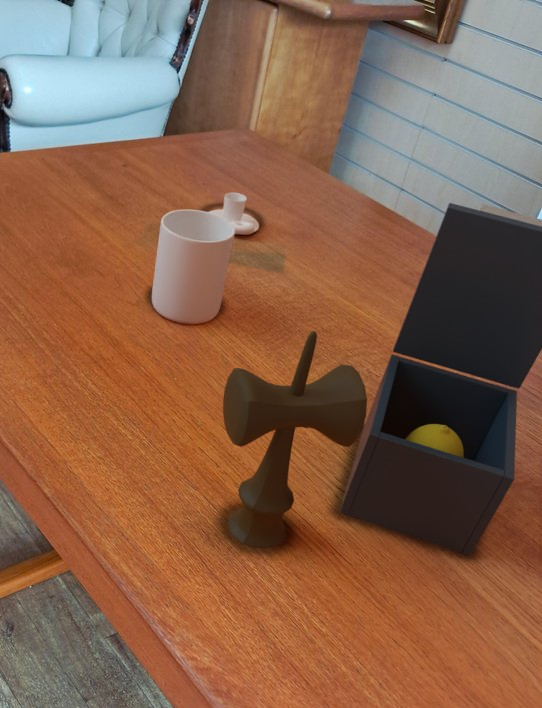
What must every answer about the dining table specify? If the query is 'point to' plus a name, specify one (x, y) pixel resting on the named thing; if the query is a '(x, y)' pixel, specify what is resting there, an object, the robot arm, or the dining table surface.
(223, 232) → the mug
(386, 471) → the chest
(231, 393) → the kendama
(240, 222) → the teacup and saucer
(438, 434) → the lemon
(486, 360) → the lid
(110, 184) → the dining table surface
